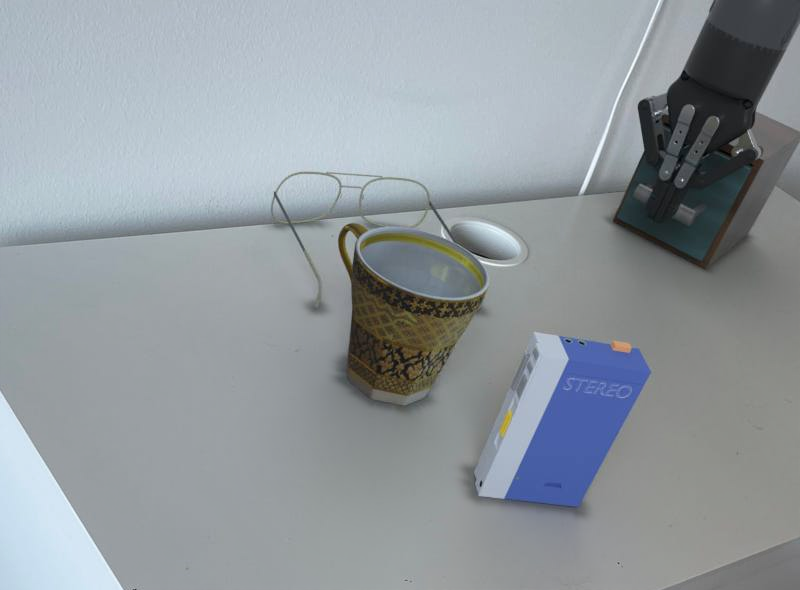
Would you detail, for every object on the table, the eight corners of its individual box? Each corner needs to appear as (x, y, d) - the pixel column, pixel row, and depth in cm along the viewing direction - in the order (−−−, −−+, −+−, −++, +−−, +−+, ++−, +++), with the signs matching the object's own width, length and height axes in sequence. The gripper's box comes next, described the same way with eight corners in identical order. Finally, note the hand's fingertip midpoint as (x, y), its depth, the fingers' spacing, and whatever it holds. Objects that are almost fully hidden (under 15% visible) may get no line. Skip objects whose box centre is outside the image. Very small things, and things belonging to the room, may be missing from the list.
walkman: (568, 483, 74) (641, 343, 65) (578, 508, 72) (654, 367, 63) (469, 471, 72) (530, 325, 63) (477, 496, 70) (541, 349, 62)
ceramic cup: (471, 398, 79) (517, 282, 71) (387, 433, 73) (427, 312, 66) (360, 314, 84) (392, 198, 76) (272, 340, 78) (298, 218, 71)
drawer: (684, 275, 102) (733, 180, 95) (597, 229, 104) (639, 134, 97) (740, 230, 114) (788, 143, 106) (661, 190, 116) (702, 103, 109)
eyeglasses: (414, 226, 97) (429, 176, 94) (480, 310, 89) (499, 258, 85) (261, 219, 91) (271, 164, 87) (316, 309, 83) (329, 252, 79)
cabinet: (705, 269, 106) (764, 160, 98) (612, 221, 109) (661, 111, 101) (747, 235, 115) (804, 133, 107) (660, 191, 119) (709, 89, 110)
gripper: (828, 54, 88) (726, 240, 100) (696, -4, 91) (613, 183, 104) (806, 64, 83) (702, 258, 95) (668, 2, 86) (584, 197, 99)
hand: (655, 218), depth 99 cm, fingers closed
